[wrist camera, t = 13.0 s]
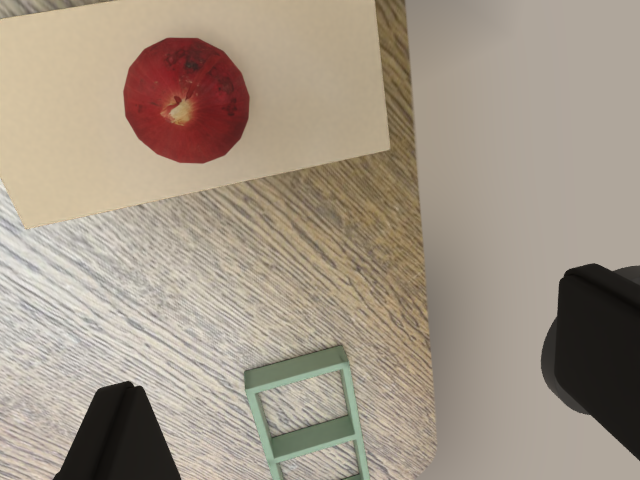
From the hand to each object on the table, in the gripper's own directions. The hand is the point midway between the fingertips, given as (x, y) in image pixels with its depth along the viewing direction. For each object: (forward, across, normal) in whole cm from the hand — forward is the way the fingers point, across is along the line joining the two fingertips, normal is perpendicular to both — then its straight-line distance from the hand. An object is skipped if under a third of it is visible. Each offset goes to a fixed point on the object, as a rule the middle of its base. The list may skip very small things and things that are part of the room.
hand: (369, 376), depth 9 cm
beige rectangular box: (+25, +4, -6) cm, 26 cm away
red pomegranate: (+19, +4, -6) cm, 20 cm away
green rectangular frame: (+25, +2, +27) cm, 37 cm away
